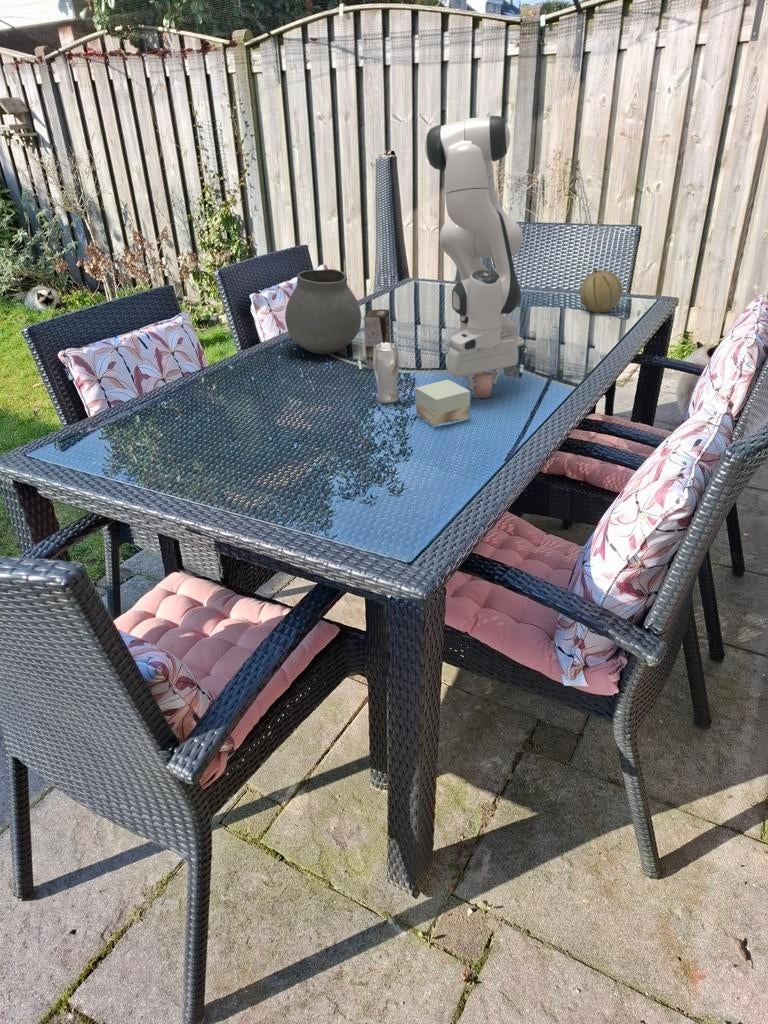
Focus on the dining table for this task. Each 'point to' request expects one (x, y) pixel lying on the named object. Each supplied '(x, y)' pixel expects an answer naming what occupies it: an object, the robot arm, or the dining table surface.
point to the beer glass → (386, 371)
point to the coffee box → (375, 332)
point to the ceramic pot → (322, 311)
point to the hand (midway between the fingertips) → (482, 386)
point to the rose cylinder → (483, 384)
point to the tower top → (442, 396)
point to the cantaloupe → (601, 291)
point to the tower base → (442, 415)
